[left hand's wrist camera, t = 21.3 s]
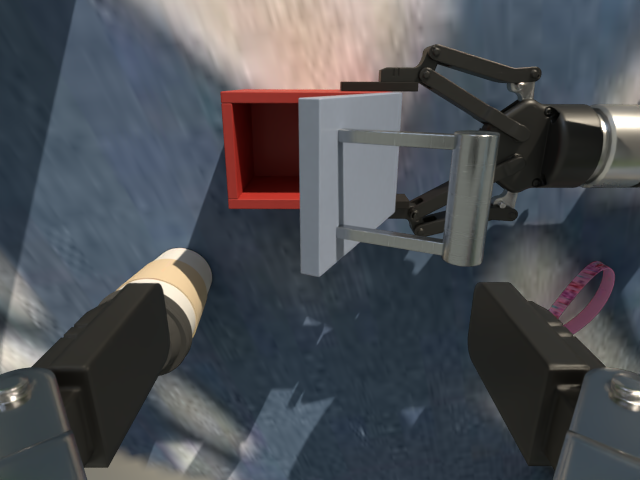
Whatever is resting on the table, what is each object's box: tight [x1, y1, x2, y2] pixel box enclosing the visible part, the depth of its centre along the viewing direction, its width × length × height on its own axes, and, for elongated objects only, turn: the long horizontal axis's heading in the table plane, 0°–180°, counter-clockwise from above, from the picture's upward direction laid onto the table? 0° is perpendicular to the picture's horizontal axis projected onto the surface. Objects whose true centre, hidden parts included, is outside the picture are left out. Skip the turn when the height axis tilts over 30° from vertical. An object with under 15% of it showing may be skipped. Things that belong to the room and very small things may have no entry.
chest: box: [221, 89, 387, 209], centre depth 41 cm, size 14×10×11 cm
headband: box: [549, 261, 615, 334], centre depth 52 cm, size 11×4×2 cm, turn 153°
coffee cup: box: [98, 248, 212, 376], centre depth 45 cm, size 9×9×15 cm
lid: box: [298, 92, 500, 277], centre depth 28 cm, size 15×10×10 cm
